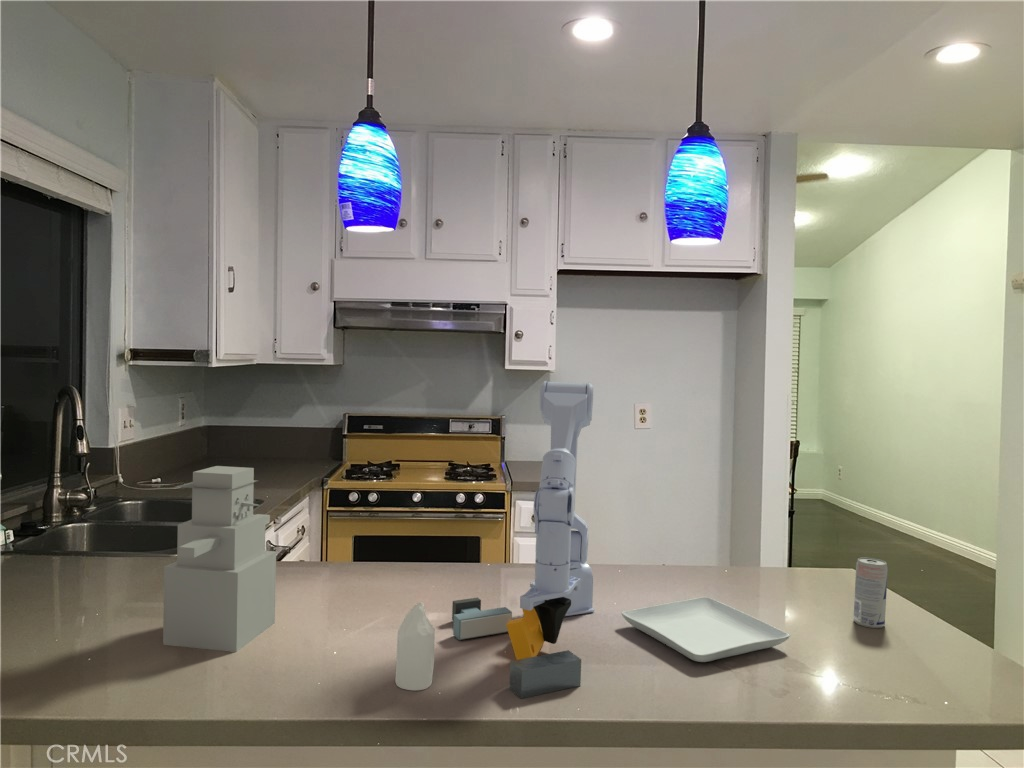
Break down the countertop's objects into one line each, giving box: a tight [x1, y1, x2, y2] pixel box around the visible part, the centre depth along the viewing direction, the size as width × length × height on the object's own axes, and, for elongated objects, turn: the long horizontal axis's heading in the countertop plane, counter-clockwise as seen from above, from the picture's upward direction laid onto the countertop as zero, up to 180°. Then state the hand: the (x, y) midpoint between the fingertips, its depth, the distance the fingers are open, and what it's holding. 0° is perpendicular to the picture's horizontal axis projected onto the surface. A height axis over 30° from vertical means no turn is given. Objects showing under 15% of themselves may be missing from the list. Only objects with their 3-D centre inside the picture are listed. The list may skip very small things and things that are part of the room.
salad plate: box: [620, 596, 791, 663], centre depth 127 cm, size 21×21×3 cm
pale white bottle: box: [395, 601, 436, 691], centre depth 107 cm, size 6×12×6 cm
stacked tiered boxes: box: [162, 465, 277, 653], centre depth 122 cm, size 13×24×28 cm, turn 171°
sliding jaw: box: [451, 597, 513, 641], centre depth 128 cm, size 10×10×4 cm
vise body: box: [509, 650, 582, 699], centre depth 107 cm, size 10×4×4 cm, turn 117°
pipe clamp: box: [506, 607, 545, 660], centre depth 118 cm, size 12×4×6 cm, turn 166°
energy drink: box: [853, 556, 889, 629], centre depth 137 cm, size 5×5×12 cm
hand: (550, 641), depth 120 cm, fingers closed, pressing on pipe clamp
